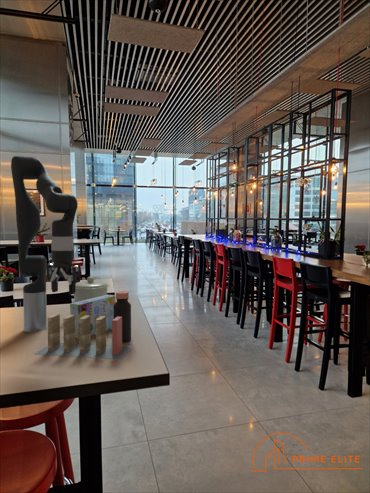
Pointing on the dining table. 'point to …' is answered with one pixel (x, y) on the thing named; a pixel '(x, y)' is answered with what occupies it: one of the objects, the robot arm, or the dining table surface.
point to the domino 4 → (100, 334)
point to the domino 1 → (53, 332)
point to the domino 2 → (69, 332)
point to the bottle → (123, 314)
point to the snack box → (94, 311)
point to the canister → (90, 289)
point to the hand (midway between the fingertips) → (63, 293)
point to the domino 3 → (85, 333)
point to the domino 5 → (116, 335)
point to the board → (90, 353)
